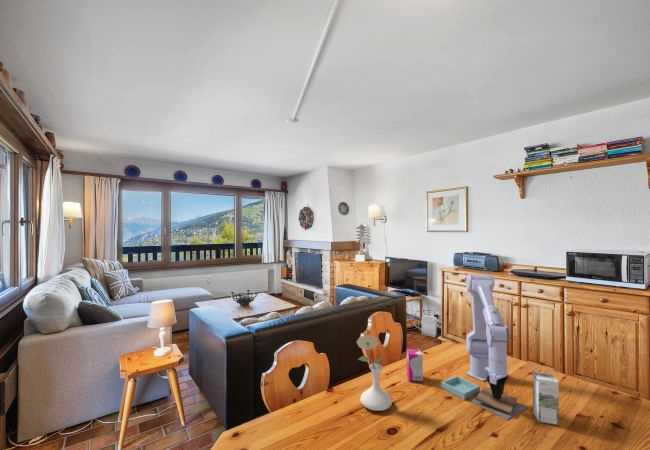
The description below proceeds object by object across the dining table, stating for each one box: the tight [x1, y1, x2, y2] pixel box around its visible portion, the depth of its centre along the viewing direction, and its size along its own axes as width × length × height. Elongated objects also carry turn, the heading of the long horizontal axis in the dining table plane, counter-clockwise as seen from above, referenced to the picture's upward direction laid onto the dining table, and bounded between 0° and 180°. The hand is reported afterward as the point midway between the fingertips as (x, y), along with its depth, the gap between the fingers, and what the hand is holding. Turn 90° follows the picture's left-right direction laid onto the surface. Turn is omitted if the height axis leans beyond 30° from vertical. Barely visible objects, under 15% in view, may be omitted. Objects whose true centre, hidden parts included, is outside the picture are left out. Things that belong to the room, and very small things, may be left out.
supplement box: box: [406, 348, 424, 383], centre depth 128 cm, size 6×6×12 cm
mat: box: [470, 397, 528, 421], centre depth 109 cm, size 13×13×1 cm
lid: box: [475, 386, 518, 414], centre depth 109 cm, size 11×11×5 cm
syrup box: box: [532, 371, 560, 426], centre depth 101 cm, size 6×6×14 cm
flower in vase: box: [356, 334, 393, 412], centre depth 110 cm, size 13×11×25 cm
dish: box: [440, 375, 481, 401], centre depth 118 cm, size 10×10×2 cm
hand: (497, 396), depth 109 cm, fingers closed on lid, 3 cm apart
